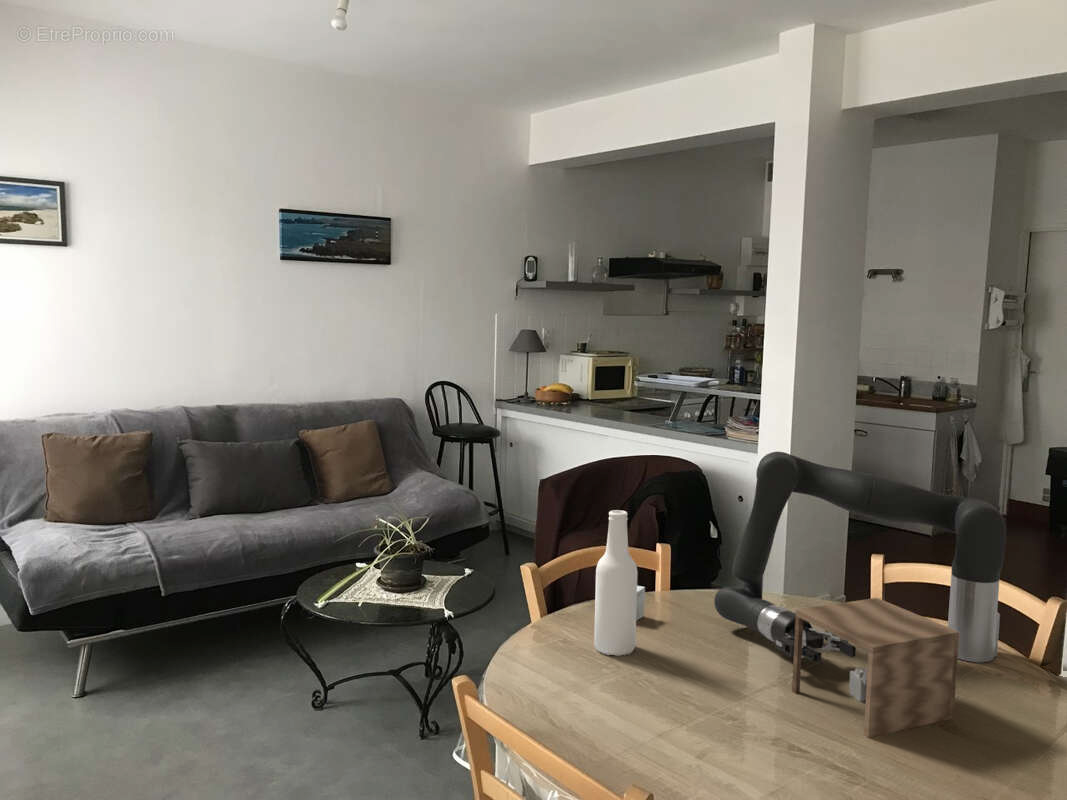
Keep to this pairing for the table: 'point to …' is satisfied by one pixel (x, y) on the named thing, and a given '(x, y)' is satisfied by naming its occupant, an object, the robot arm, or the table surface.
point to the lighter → (858, 684)
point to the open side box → (892, 661)
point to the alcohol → (616, 592)
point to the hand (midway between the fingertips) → (837, 655)
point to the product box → (640, 602)
